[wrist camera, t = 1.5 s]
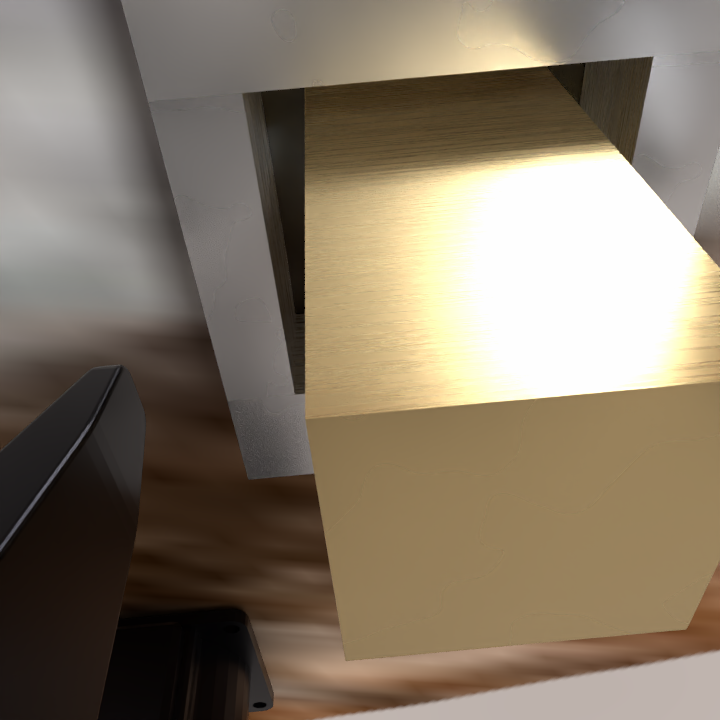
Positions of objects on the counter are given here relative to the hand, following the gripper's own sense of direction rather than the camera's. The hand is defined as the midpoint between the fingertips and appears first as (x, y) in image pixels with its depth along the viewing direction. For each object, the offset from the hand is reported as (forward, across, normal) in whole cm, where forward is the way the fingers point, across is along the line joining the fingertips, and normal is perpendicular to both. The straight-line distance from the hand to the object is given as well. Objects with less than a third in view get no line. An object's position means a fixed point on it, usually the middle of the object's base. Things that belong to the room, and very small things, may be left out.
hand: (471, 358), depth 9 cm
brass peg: (+5, 0, 0) cm, 5 cm away
